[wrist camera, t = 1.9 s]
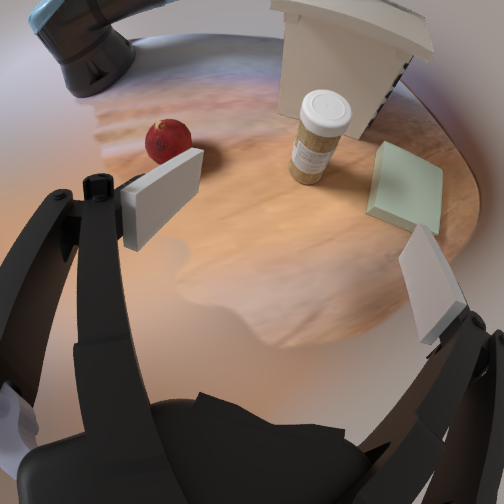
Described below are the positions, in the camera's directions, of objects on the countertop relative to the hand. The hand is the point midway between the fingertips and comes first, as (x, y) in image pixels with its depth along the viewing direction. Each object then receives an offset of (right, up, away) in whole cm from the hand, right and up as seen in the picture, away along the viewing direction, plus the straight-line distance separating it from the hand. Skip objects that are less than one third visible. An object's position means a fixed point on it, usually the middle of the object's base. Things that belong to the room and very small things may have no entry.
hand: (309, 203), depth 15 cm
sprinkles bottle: (+4, +8, +19) cm, 21 cm away
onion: (-13, +10, +20) cm, 26 cm away
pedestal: (+18, +5, +18) cm, 26 cm away
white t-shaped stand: (+5, +13, +19) cm, 24 cm away
